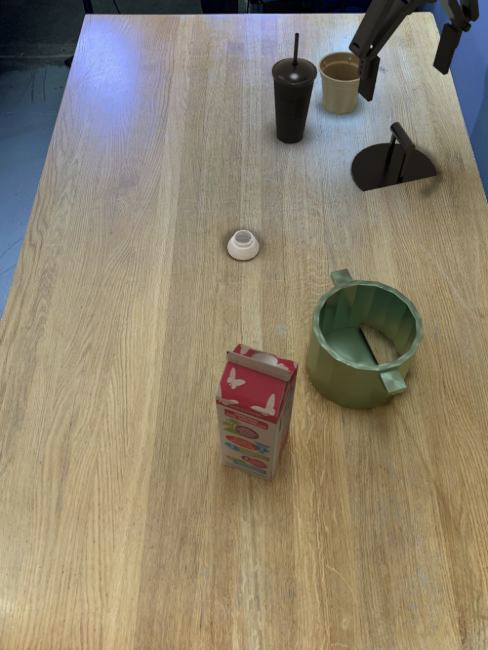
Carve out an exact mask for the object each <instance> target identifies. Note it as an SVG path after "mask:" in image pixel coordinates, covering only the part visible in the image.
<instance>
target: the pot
mask: <svg viewBox="0 0 488 650" xmlns="http://www.w3.org/2000/svg"><path fill="white" fill-rule="evenodd" d="M329 278H330V279H331V281H332V284H333V287H332V288H330V289H329V290H327V291H326V292H324V293H323V294H321V297H320V298H319V300H318V301H317V303H316V305H315V307H314V308H313V312H312V319H311V324H310V330H309V331H310V332H309V338H308V343H307V351H306V366H305V367H306V370H307V374H308V377H309V380H310V382H311V383H312V385H313V387H314V388H315V389H316V390H317V391H318V393H319V394H321V395H322V396H323V397H324V398H325V399H326V400H329V401H330V402H331V403H334V404H336V405H338V406H341V407H344V408H347V409H352V410H353V409H355V410H368V409H372V408H376V407H379V406H382V405H384V404H386V403H387V402H389V401H390V400H392V399H393V398H394V397H395V395H397V394H400V393H403V392H406V391H407V389H408V386H407V384H406V382H405V378H406V376H407V374H408V372H409V369H410V367H411V365H412V362H413V360H414V358H415V356H416V354H417V351H418V349H419V347H420V345H421V342H422V340H423V337H424V332H423V319H422V317H421V315H420V314H419V313H420V312H418V310H417V308H416V306H415V304H414V302H412V301H411V299H409V298H408V297H407V296H406V295H405V294H404V293H402V292H401V291H400V290H399V289H397V288H395V287H392V286H390V285H387V284H385V283H382V282H380V281H375V280H374V281H373V280H363V279H353V277H352V275H351V273H350V271H349V269H348V268H343V269H338V270H335V271H331V272H330V275H329ZM361 325H362V326H367V327H369V328H371V329H374V330H376V331H379V332H380V333H381V334H383V335H384V336H385V337H386V338H387V339H389V340H390V341H391V342H392V343H393V345H394V347H395V349H396V351H397V353H398V355H399V357H398V358H397V359H395V360H392V361H387V362H383V363H380V364H379V362H378V360H377V357H376V356H375V353H374V351H373V350H372V348H371V346H370V344H369V341H368V339H367V337H366V335H365V333H364V331H363V329H362V327H361Z"/></svg>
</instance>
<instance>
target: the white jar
mask: <svg viewBox="0 0 488 650" xmlns="http://www.w3.org/2000/svg"><path fill="white" fill-rule="evenodd" d="M226 248H227V252H228V254H229V255H230V256H231V257H232V258H234V259H236V260H239V261H240V260H241V261H246V260H251V259H254V258H255V257H256V256H257V255H258V254H259V251H260V244H259V241H258V239H256V237H255V236H254V235H253V233H252V232H250V231H249V230H247V229H241V230H238V231H236V232H234V235H232V237H231V238H230V239H229V241H228V243H227V246H226Z"/></svg>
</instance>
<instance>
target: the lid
mask: <svg viewBox="0 0 488 650" xmlns="http://www.w3.org/2000/svg"><path fill="white" fill-rule="evenodd" d="M389 130H390V132H391V136H390V139H389V142H381V143H375V144H371V145H368V146H366V147H364V148H363V149H361V150H360V151H359V152H358V153H356V155H355V156H354V158H353V159H352V161H351V165H350V175H351V178H352V180H353V182H354V183H355V185H356V186H357V187H358V189H359V190H361V192H369V191H374V190H379V189H383V188H388V187H392V186H397V185H402V184H406V183H410V182H416V181H418V180H419V181H420V180H424V179H428V178H433V177H437V176H438V173H437V169H436V166H435V164H434V163H433V161H432V160H431V159H430V157H428V156H427V155H426V154H425V153H423V152H422V151H420V149H419V150H418V149H417V148H416V144H415V143H414V142H413V140H412V139H411V137H410V136H409V134H408V133H407V132H406V130H405V129H404V127H403V126H402V125H401V123H400V122H399V121H395V122H393V123H391V125H390V127H389ZM396 141H397V142H398V143H397V142H396Z"/></svg>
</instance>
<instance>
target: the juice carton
mask: <svg viewBox="0 0 488 650" xmlns="http://www.w3.org/2000/svg"><path fill="white" fill-rule="evenodd" d="M298 368H299V362H297V361H294V360H291V359H288V358H285V357H282V356H279V355H276V354H273V353H270V352H267V351H264V350H262V349H261V350H260V349H257V348H255V347H252V346H248V345H245V344H243V343H238V344H237V345H236V346H235V348H234V349H233V350H232V351H231V350H229V349H226V363H225V366H224V368H223V371H222V374H221V377H220V380H219V383H218V386H217V389H216V392H215V395H214V396H215V406H216V415H217V426H218V437H219V447H220V448H219V449H220V457H221V464H222V465H225V466H228V467H230V468H232V469H236V470H238V471H241V472H244V473H247V474H249V475H250V476H254V477H256V478H259V479H262V480H265V481H267V482H269V483H272V481H273V479H274V476H275V474H276V470H277V468H278V466H279V463H280V460H281V457H282V455H283V452H284V450H285V446H286V444H287V442H288V438H289V435H290V430H291V429H290V428H291V422H292V414H293V407H294V399H295V393H296V385H297V378H298Z"/></svg>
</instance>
